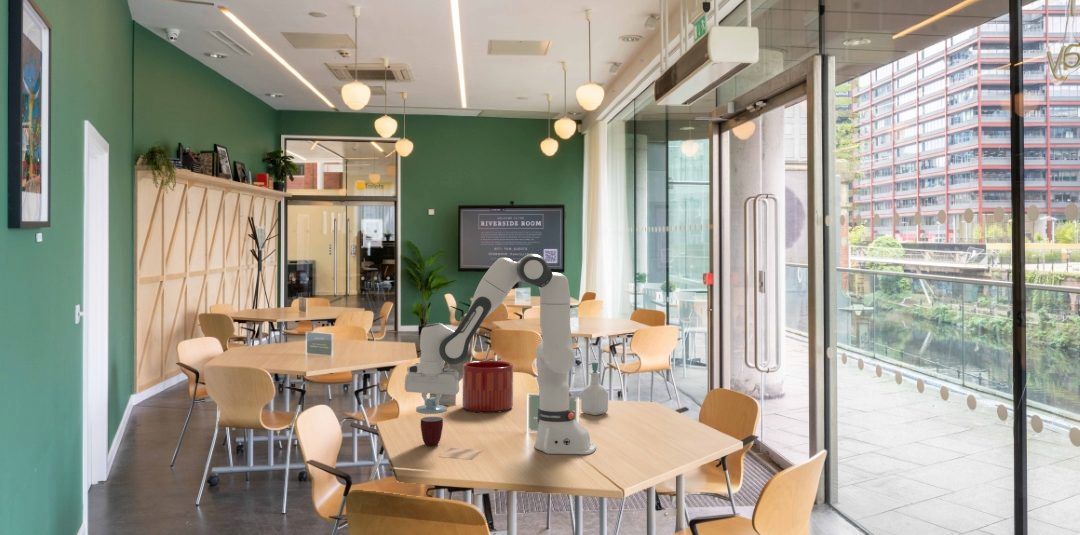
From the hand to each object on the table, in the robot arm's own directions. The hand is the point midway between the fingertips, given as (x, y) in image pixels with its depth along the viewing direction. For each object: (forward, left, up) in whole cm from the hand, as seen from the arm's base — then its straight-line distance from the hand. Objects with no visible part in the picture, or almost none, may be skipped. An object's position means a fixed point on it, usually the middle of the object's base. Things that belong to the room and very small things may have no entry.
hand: (431, 405), depth 262 cm
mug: (0, 0, -16) cm, 16 cm away
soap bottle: (-48, -72, -16) cm, 88 cm away
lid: (0, 0, -2) cm, 2 cm away
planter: (+1, -69, -16) cm, 71 cm away
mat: (-14, +7, -15) cm, 22 cm away
